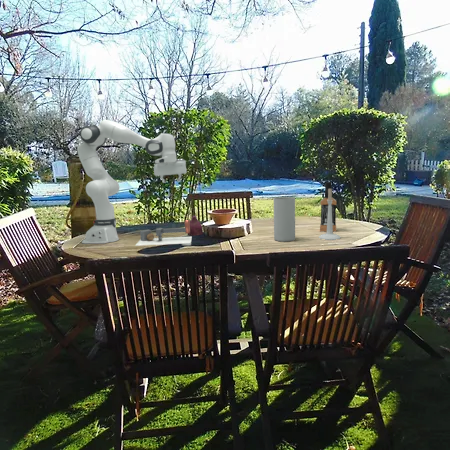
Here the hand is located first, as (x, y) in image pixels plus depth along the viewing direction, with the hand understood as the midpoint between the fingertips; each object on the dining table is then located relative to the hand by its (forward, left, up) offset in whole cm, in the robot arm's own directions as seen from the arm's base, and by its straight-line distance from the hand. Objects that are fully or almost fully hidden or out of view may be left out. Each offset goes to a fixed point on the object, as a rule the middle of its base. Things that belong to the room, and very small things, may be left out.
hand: (171, 182), depth 245 cm
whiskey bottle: (+101, +5, -36) cm, 107 cm away
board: (-5, -12, -36) cm, 38 cm away
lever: (0, -11, -31) cm, 33 cm away
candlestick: (+94, -20, -36) cm, 103 cm away
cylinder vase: (+67, -19, -36) cm, 78 cm away
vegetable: (+13, +13, -36) cm, 41 cm away
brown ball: (-14, -9, -35) cm, 38 cm away
